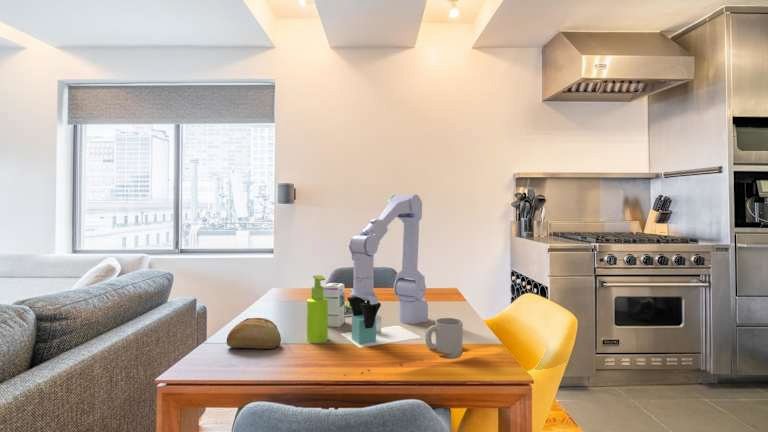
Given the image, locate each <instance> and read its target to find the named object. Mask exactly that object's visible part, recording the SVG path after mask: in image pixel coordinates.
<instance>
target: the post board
mask: <svg viewBox="0 0 768 432" xmlns="http://www.w3.org/2000/svg"><path fill="white" fill-rule="evenodd" d="M340 335H341V336H343V338H345V339H346V340H348V341H349V342H351V343H352V344H353V345H355V346H357V348H359V349H360V348H366V347H372V346H373V347H374V346H378V345H385V344H390V343H397V342H404V341H409V340H414V339H415V340H417V339H422V337H421V336H420V335H418V334H417V333H414V332H412V331H410V330H409V329H406V328H405V327H403V326H400V325H392V326H390V325H389V326H386V327H381V333H377V334H376V342H371V343H365V344H358V343H356V342H355V341H354V340H352V331H349V332H343V333H340Z"/></svg>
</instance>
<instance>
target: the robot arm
mask: <svg viewBox="0 0 768 432" xmlns="http://www.w3.org/2000/svg"><path fill="white" fill-rule="evenodd" d="M422 217H423V201H422V199H421V197H420V196H419V195H418V194H399V195H398V194H397V195H396V194H392V195H391V196H390V197H389V199H387V205H386V207H385V208H384V210H383V211H382V212H381V214H380V216H379V217H378V218H373V219H370V221H369V223H368V224H367V225H366V227H365V228H363V229H362V231H361V232H360V233H359V234H356V235H354V236H352V238H351V239H350V242H349V244H348V249H349V253H350V254H351V259H352V261H353V287H352V288H351V287H350V292H349V296H348V297H347V301H348V303H350V306H351V308H352V312H353V316H359V315H364V324H365V328H366V329H368V328H373V326H374V321H375V317H376V315H378V312H379V309H380V307H382V306H381V305H382V303H381V302H379V297H378V296H377V295H376V293H375V292H374V287H375V286H374V284H375V283H374V279H375V278H374V272H375V271H374V267H375V265H374V264H375V263H374V261H375V260H374V256H375V254H377V252H378V248H379V245H380V243H381V241H382V239H383V238H384V237H385V236H386V234H387V233H388V229H389V228H388V226H389V225H390V224H391V223H392V222H393V221H394V220H395V219H396V218H397V219H398V220H400V221H401V222H402V223H403V237H402V240H403V242H402V259H401V260H402V262H401V265H402V267H401V270H400V271H399V272H398V273H396V274H395V278H394V279H395V280H394V282H393V293H394V295H395V296H396V299H397V300H398V322H399V323H401V324H405V325H415V324H420V323H425V322H426V323H427V322H428V321H429V306H428V305H429V304H428V301H427V300H426V298H424V297H425V294H426V293H427V292H426V291H427V286H426V282H425V281H426V279H425V275H423V274H422V273H421V272H420V271H419V270H418V264H419V263H418V262H419V242H420V241H419V235H420V233H419V232H420V221H421V220H422Z"/></svg>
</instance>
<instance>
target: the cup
mask: <svg viewBox="0 0 768 432" xmlns="http://www.w3.org/2000/svg"><path fill="white" fill-rule="evenodd" d="M463 323H464V322H463V320H461V319H458V318H452V317H440V318H437V319H435V324H433V325H430V326H428V328H427V330H426V331H425V336H424V338H425V344H426V347H428V349H429V350H431V351H432V350H434V351H437V352H440V353H443V355H438V357H439V358H442V359H448V360H450V359H451V360H453V359H459V358H461V357H462V355H463V336H464V335H463V329H464V328H463ZM433 332H435V333H434V335H435V338H434V339H435V340H434V342H435V343H433V341H432V336H433V335H432V334H433Z"/></svg>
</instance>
